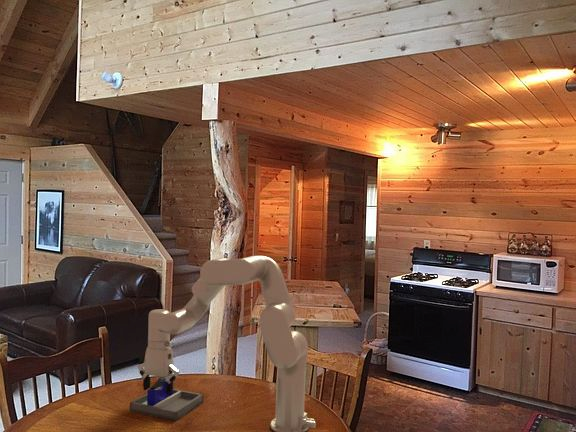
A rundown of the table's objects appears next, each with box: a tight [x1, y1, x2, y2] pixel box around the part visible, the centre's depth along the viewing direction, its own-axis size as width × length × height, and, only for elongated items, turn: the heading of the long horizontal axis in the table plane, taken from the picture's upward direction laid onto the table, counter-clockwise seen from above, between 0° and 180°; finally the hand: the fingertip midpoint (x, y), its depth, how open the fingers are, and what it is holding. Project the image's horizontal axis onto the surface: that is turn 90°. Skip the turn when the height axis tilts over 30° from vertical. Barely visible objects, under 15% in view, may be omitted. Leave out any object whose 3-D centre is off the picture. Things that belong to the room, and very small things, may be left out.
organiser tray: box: [129, 386, 205, 422], centre depth 181 cm, size 19×18×3 cm
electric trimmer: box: [149, 377, 166, 390], centre depth 201 cm, size 4×16×3 cm, turn 174°
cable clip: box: [146, 380, 172, 406], centre depth 183 cm, size 12×4×6 cm, turn 163°
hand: (157, 391), depth 183 cm, fingers open, 9 cm apart
